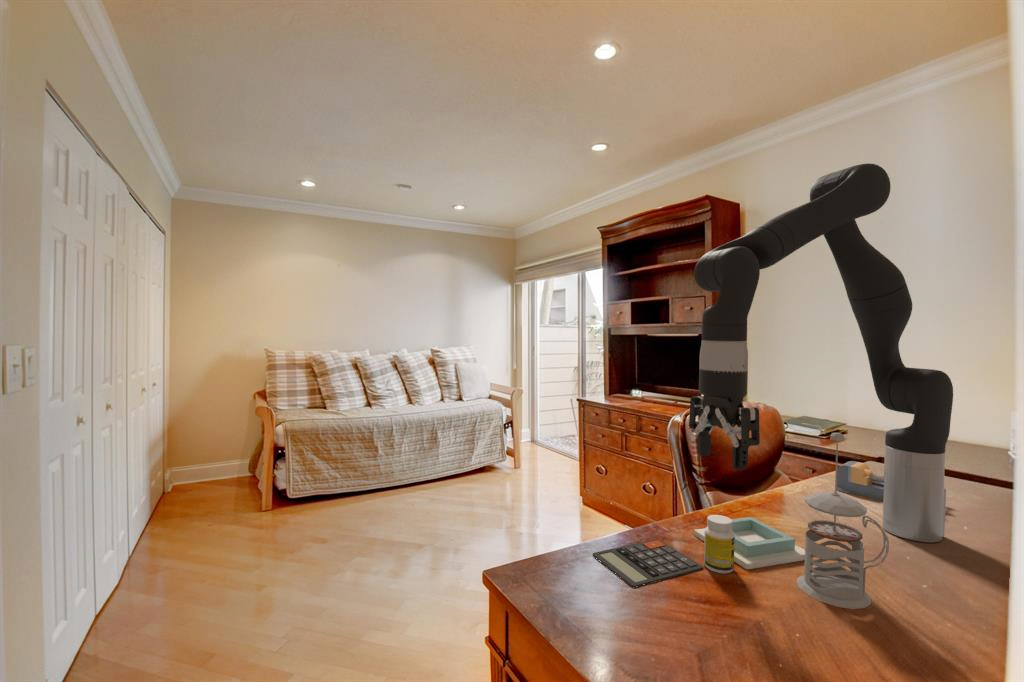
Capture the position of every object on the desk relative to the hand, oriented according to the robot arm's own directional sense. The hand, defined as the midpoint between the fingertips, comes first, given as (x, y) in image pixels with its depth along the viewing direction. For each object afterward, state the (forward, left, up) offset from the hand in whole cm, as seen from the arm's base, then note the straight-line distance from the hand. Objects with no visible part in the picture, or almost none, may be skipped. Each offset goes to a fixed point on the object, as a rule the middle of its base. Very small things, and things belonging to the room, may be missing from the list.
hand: (720, 462), depth 81 cm
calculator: (+11, -5, -19) cm, 22 cm away
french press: (-13, +11, -18) cm, 25 cm away
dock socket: (-11, -5, -18) cm, 22 cm away
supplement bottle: (0, 0, -18) cm, 18 cm away
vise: (-63, -18, -19) cm, 68 cm away
